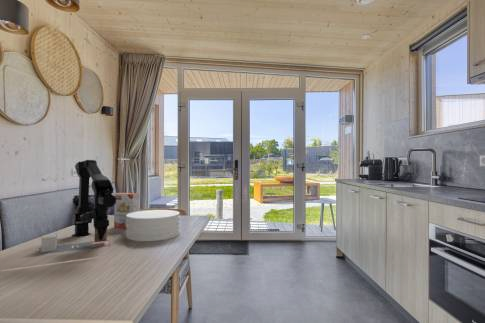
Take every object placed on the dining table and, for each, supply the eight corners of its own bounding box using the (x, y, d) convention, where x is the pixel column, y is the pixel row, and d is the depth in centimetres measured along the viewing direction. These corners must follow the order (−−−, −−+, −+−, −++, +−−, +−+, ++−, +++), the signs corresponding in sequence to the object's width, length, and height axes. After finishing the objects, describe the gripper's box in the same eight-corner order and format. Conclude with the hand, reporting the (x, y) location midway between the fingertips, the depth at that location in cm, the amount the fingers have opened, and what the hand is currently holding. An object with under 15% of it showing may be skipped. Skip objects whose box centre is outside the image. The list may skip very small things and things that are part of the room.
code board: (35, 256, 112) (35, 254, 112) (40, 248, 123) (40, 247, 123) (110, 247, 126) (110, 245, 126) (109, 240, 136) (109, 239, 136)
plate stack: (114, 237, 145) (114, 215, 145) (154, 227, 169) (154, 208, 170) (152, 244, 132) (153, 220, 132) (189, 232, 156) (189, 212, 157)
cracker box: (113, 227, 167) (113, 193, 167) (120, 225, 172) (120, 192, 173) (132, 229, 163) (133, 194, 163) (139, 227, 168) (139, 193, 169)
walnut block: (94, 242, 126) (94, 229, 126) (94, 239, 130) (94, 227, 130) (106, 240, 128) (106, 228, 128) (106, 238, 133) (106, 226, 133)
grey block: (41, 252, 116) (41, 237, 116) (42, 249, 120) (43, 235, 121) (55, 250, 118) (55, 236, 119) (56, 247, 123) (56, 234, 123)
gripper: (81, 203, 134) (81, 235, 133) (80, 209, 118) (80, 245, 117) (107, 202, 139) (106, 233, 139) (109, 207, 123) (108, 242, 123)
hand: (100, 238), depth 129 cm, fingers closed on walnut block, 5 cm apart
